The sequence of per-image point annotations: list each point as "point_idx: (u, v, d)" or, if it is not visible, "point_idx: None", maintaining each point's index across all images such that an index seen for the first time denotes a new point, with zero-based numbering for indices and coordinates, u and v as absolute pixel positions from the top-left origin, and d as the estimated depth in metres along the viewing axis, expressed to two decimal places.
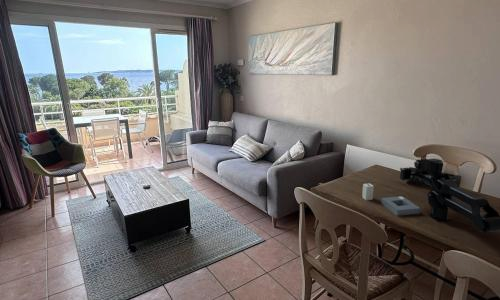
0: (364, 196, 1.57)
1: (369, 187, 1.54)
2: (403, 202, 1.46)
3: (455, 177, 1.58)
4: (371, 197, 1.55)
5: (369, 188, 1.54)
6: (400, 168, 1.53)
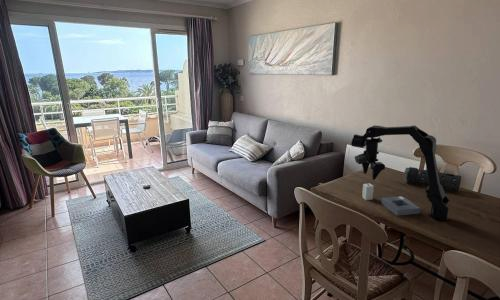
0: (364, 196, 1.57)
1: (369, 187, 1.54)
2: (403, 202, 1.46)
3: (455, 177, 1.58)
4: (371, 197, 1.55)
5: (369, 188, 1.54)
6: (373, 178, 1.49)
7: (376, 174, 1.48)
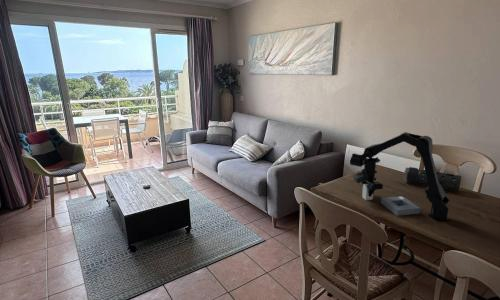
0: (364, 196, 1.57)
1: None
2: (403, 202, 1.46)
3: (455, 177, 1.58)
4: (371, 197, 1.55)
5: None
6: (369, 195, 1.54)
7: (372, 191, 1.53)
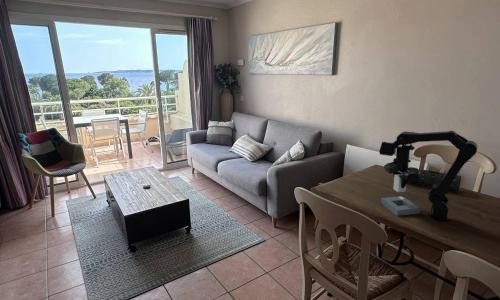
0: (396, 188, 1.42)
1: None
2: (403, 202, 1.46)
3: (455, 177, 1.58)
4: (404, 189, 1.41)
5: None
6: (402, 187, 1.40)
7: (405, 182, 1.39)
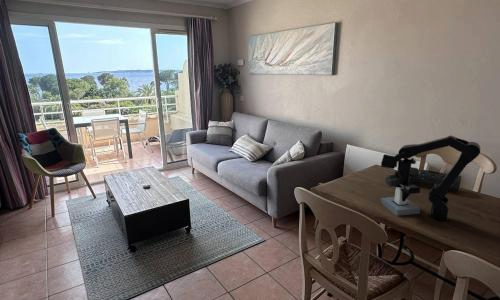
0: (397, 200, 1.43)
1: None
2: None
3: None
4: (405, 202, 1.42)
5: None
6: (403, 200, 1.41)
7: (406, 195, 1.40)
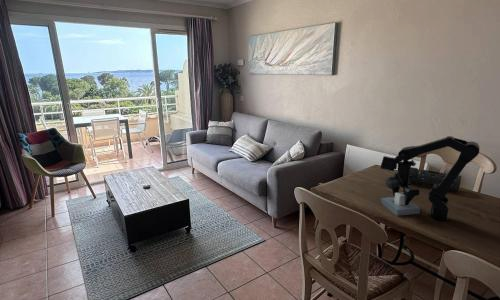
0: None
1: (402, 196, 1.41)
2: None
3: None
4: None
5: (402, 198, 1.41)
6: (406, 204, 1.39)
7: (409, 199, 1.38)
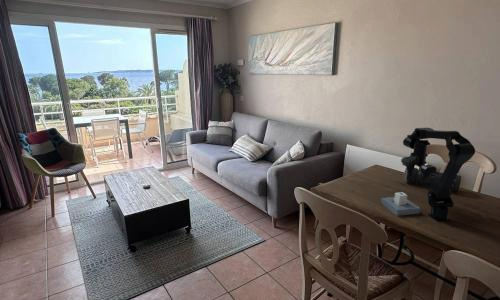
0: None
1: (402, 196, 1.41)
2: None
3: None
4: None
5: (402, 198, 1.41)
6: (422, 182, 1.44)
7: (425, 177, 1.43)
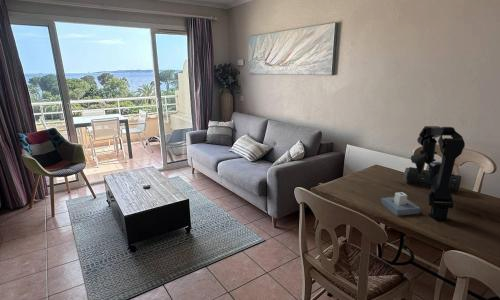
0: None
1: (402, 196, 1.41)
2: None
3: (455, 177, 1.58)
4: None
5: (402, 198, 1.41)
6: (431, 179, 1.48)
7: (434, 174, 1.47)
